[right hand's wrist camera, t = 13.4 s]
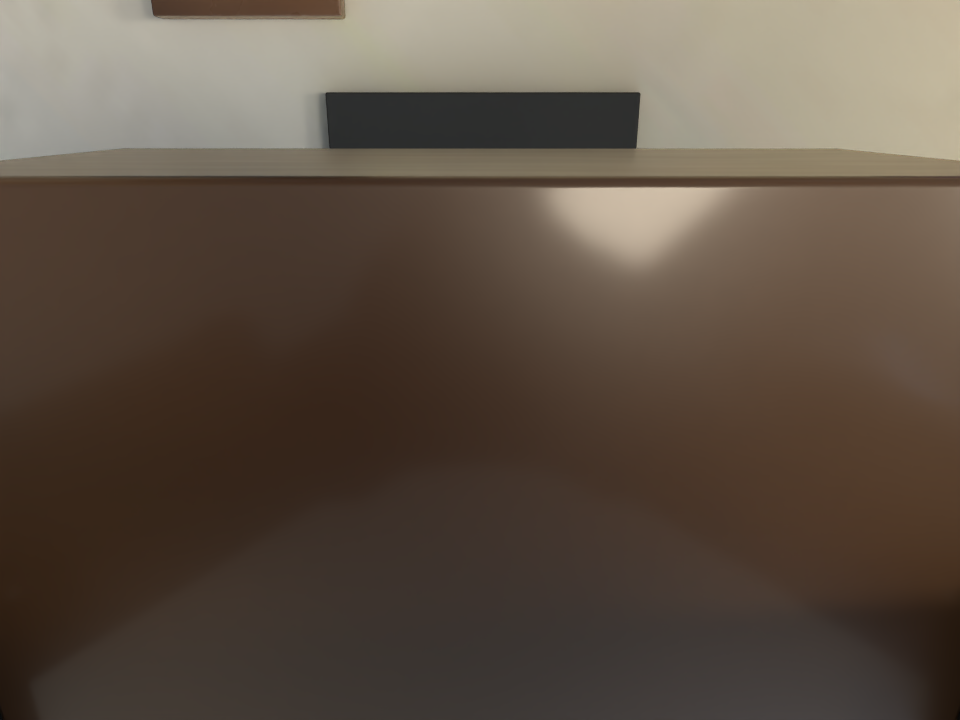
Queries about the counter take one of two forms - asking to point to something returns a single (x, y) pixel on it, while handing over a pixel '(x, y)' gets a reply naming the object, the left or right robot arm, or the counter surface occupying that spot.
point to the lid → (479, 435)
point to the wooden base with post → (249, 9)
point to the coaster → (483, 120)
